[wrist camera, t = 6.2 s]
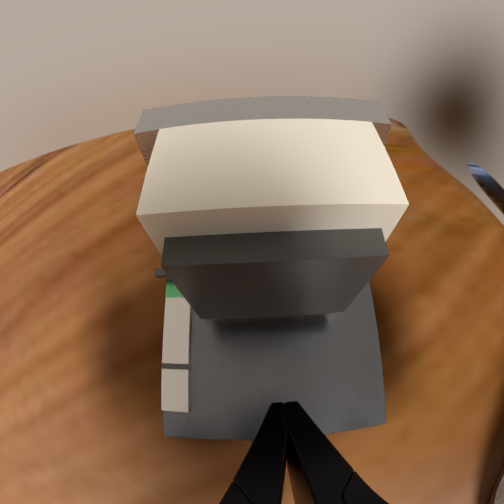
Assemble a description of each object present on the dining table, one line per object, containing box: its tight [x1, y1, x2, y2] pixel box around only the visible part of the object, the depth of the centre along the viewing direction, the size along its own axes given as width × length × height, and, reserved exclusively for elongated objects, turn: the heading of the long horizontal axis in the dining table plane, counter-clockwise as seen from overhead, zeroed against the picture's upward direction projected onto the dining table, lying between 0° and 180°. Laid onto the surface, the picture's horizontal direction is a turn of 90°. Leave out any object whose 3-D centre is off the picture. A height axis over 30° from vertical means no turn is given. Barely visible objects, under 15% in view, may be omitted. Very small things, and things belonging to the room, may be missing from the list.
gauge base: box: [134, 96, 392, 440], centre depth 13 cm, size 15×12×9 cm
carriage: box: [136, 119, 409, 319], centre depth 12 cm, size 5×10×9 cm, turn 92°
